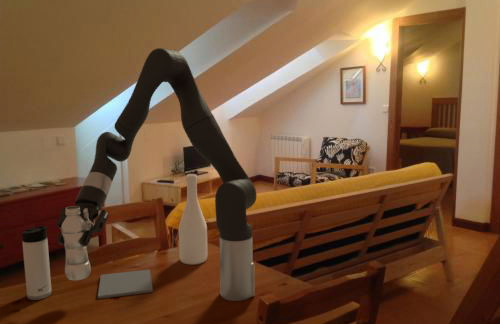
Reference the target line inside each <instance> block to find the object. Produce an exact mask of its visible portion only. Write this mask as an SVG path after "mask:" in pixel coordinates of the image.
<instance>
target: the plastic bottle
mask: <svg viewBox="0 0 500 324" xmlns="http://www.w3.org/2000/svg"><path fill="white" fill-rule="evenodd" d="M65 210H66V213H65V215H66V216H67V217H66V219H65V220H64V222H63V224H62V227H61V229H60V231H62V235H63V239H64V250H65V264H64V273H65V276H66V278H67V279H68V280H70V281H81V280H85V279H87V278H88V277H89V276H90V274H91V270H92V268H91V263H90V260H89V255H88V249H87V247H88V245H87V246H86V247H85V246H82V245H81V244H80V241H81V239H82V236H83V234H84V232H85V231H87V230H86V223H85V221H84V219H83V218H82V217H81V216H80V214H81V211H80V207H79V206H75V205H73V206H72V205H71V206H67V207H66V209H65Z"/></svg>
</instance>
